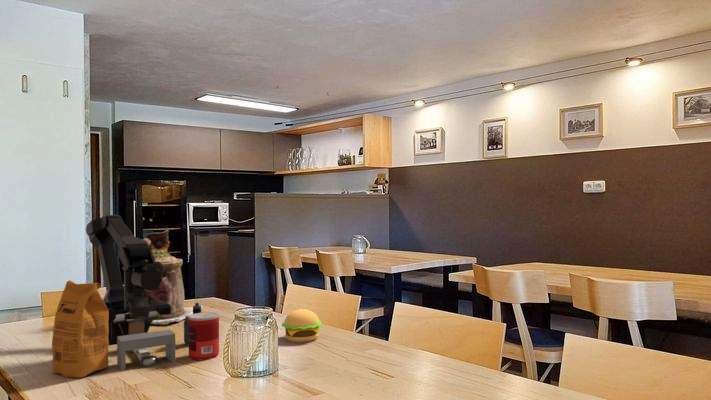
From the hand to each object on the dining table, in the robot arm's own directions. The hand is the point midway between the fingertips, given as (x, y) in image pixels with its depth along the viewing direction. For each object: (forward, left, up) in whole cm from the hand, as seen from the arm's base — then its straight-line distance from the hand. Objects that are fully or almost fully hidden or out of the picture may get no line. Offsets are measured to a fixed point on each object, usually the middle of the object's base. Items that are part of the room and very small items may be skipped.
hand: (135, 342), depth 144 cm
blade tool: (+6, 0, -2) cm, 7 cm away
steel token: (+18, 0, -2) cm, 18 cm away
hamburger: (+17, +44, -2) cm, 47 cm away
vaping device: (+4, +15, -2) cm, 16 cm away
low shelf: (+15, 0, -2) cm, 15 cm away
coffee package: (+13, -15, -2) cm, 20 cm away
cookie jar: (-40, +15, -2) cm, 43 cm away
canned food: (+18, +14, -2) cm, 23 cm away
